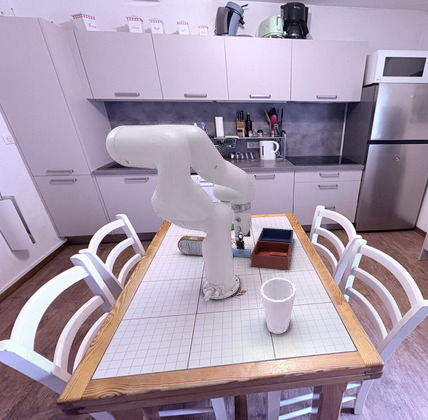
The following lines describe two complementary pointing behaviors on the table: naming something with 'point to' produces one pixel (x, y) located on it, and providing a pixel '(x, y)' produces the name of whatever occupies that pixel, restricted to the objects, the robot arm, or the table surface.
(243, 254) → the blue spoon
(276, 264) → the red bin
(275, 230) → the blue bin
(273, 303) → the foam cup
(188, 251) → the tin
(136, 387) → the table surface
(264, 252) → the red spoon
